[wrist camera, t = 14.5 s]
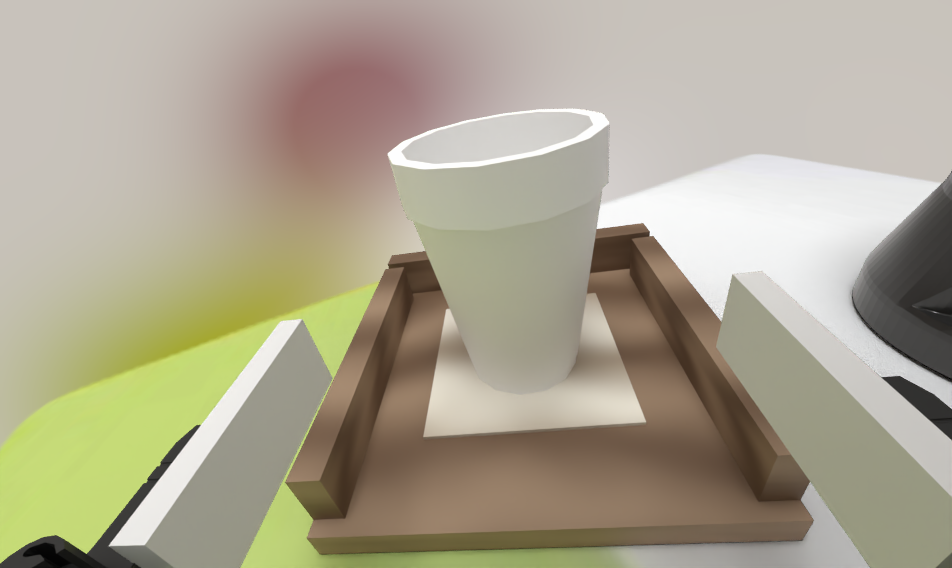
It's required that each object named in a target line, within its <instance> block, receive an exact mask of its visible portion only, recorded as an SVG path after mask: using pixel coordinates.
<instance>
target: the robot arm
mask: <svg viewBox="0 0 952 568" xmlns="http://www.w3.org/2000/svg"><path fill="white" fill-rule="evenodd" d="M853 301H854V304H855V306H856V308H857V310H858V312H859V313H860V315H861V316H862V318H863V319H864V320H865V321H866V322H867V323H868V324H869V325H870V327H871V328H872V329H874V330H875V331H876V332H877V333H878V334H879V335H880V336H882V337H883V338H884V339H885V340H887V341H888V342H889V343H891V344H892V345H893V346H895V347H896V348H898V349H899V350H901V351H902V352H904V353H905V354H907V355H908V356H910V357H912V358H913V359H915V360H917V361H918V362H920V363H922V364H924V365H926V366H928V367H929V368H931V369H933V370H935V371H937V372H939V373H941V374H943V375H945V376H947V377H949V378H951V379H952V171H951V173H950V175H949V176H948V177H947V179H946V180H945V181H944V182H943V183H942V184H941V185H940V186H939V187H938V188H937V189H936V190H935V191H934V192H933V193H932V194H931V195H930V196H929V197H928V198H927V199H925V200H924V201H923V202H922V203H921V204H920V205H919V206H918V207H917V208H916V209H915V210H914V211H913V212H912V213H911V214H910V215H909V216H908V217H907V218H906V219H905V220H904V221H903V222H902V223H901V224H900V225H899V226H898V227H897V228H896V229H895V230H894V231H892V232H891V233H890V234H889V235H888V236H887V237H886V238H885V239H884V240H883V241H882V242H881V243H880V244H879V245H878V246H877V247H876V248H875V249H874V250H873V251H872V252H871V253H870V255H869V256H868V258H867V259H866V260H865V263H864V265H863V267H862V269H861V272H860V274H859V276H858V278H857V281H856V283H855V285H854V288H853ZM716 348H717V349H718V351H719V352H720V353H721V355H722V356H723V358H724V359H725V361H726V362H727V363H728V365H729V366H730V368H731V369H732V371H733V372H734V373H735V375H736V376H737V378H738V379H739V381H740V382H741V383H742V385H743V386H744V388H745V389H746V391H747V392H748V393H749V395H750V396H751V398H752V399H753V401H754V402H755V403H756V405H757V406H758V408H759V409H760V411H761V412H762V413H763V415H764V416H765V418H766V419H767V421H768V422H769V423H770V425H771V426H772V428H773V429H774V431H775V432H776V433H777V435H778V436H779V438H780V439H781V441H782V442H783V443H784V445H785V446H786V448H787V449H788V451H789V452H790V453H791V455H792V456H793V458H794V459H795V461H796V462H797V463H798V465H799V466H800V468H801V469H802V471H803V472H804V473H805V475H806V476H807V478H808V479H809V481H810V482H811V484H812V485H813V486H814V488H815V489H816V491H817V492H818V494H819V495H820V496H821V498H822V499H823V501H824V502H825V504H826V505H827V506H828V508H829V509H830V511H831V512H832V514H833V515H834V516H835V518H836V519H837V521H838V522H839V524H840V525H841V526H842V528H843V529H844V531H845V532H846V534H847V535H848V536H849V538H850V539H851V541H852V542H853V544H854V545H855V546H856V548H857V549H858V551H859V552H860V554H861V555H862V556H863V558H864V559H865V561H866V562H867V564H868V565H869V566H870V568H952V409H951V408H950V407H948V406H947V405H946V404H945V403H944V402H942V401H941V400H940V399H939V398H937V397H936V396H935V395H934V394H932V393H930V392H928V391H926V390H925V389H923V388H921V387H919V386H917V385H915V384H913V383H912V382H910V381H908V380H906V379H904V378H902V377H900V376H894V377H880V376H879V375H878V374H877V373H876V372H875V371H873V370H872V369H871V368H870V367H869V366H868V365H867V364H866V363H864V362H863V361H862V360H861V359H860V358H859V357H858V356H857V355H855V354H854V353H853V352H852V351H851V350H850V349H849V348H848V347H847V346H845V345H844V344H843V343H842V342H841V341H840V340H839V339H838V338H836V337H835V336H834V335H833V334H832V333H831V332H830V331H829V330H827V329H826V328H825V327H824V326H823V325H822V324H821V323H820V322H818V321H817V320H816V319H815V318H814V317H813V316H812V315H811V314H810V313H808V312H807V311H806V310H805V309H804V308H803V307H802V306H801V305H799V304H798V303H797V302H796V301H795V300H794V299H793V298H792V297H790V296H789V295H788V294H787V293H786V292H785V291H784V290H783V289H781V288H780V287H779V286H778V285H777V284H776V283H775V282H774V281H772V280H771V279H770V278H769V277H768V276H767V275H766V274H765V273H764V272H762V271H758V272H748V273H739V274H733V275H732V279H731V283H730V288H729V292H728V297H727V301H726V305H725V310H724V314H723V318H722V323H721V327H720V332H719V336H718V340H717V345H716ZM331 381H332V376H331V374H330V372H329V370H328V368H327V366H326V365H325V363H324V361H323V359H322V357H321V355H320V353H319V351H318V349H317V347H316V345H315V343H314V341H313V339H312V337H311V335H310V333H309V331H308V329H307V327H306V325H305V323H304V321H303V320H302V319H298V320H289V321H281V322H280V323H279V324H278V326H277V327H276V328H275V329H274V331H273V332H272V333H271V335H270V336H269V337H268V339H267V340H266V341H265V342H264V344H263V345H262V346H261V348H260V349H259V350H258V352H257V353H256V354H255V356H254V357H253V358H252V359H251V361H250V362H249V363H248V365H247V366H246V367H245V369H244V370H243V371H242V372H241V374H240V375H239V376H238V378H237V379H236V380H235V382H234V383H233V384H232V386H231V387H230V388H229V389H228V391H227V392H226V393H225V395H224V396H223V397H222V399H221V400H220V401H219V402H218V404H217V405H216V406H215V408H214V409H213V410H212V412H211V413H210V414H209V415H208V417H207V418H206V419H205V421H204V422H203V423H202V425H196V426H195V427H194V428H193V429H192V430H190V431H189V432H188V433H187V434H186V435H185V436H183V437H182V438H181V439H180V440H179V441H178V442H176V444H175V445H174V446H173V447H172V449H171V450H170V451H169V452H168V454H167V455H166V456H165V457H164V459H163V460H162V461H161V462H160V463H161V465H160V466H158V467H156V469H155V470H154V471H153V472H152V474H151V475H150V476H149V477H148V479H147V480H148V481H147V483H144V484H143V485H142V486H141V488H140V489H139V490H138V491H137V493H136V494H135V495H134V496H133V498H132V499H131V500H130V501H129V503H128V504H127V505H126V506H125V508H124V509H123V510H122V511H121V513H120V514H119V515H118V516H117V518H116V519H115V520H114V521H113V523H112V524H111V525H110V526H109V528H108V529H107V530H106V532H105V533H104V534H103V535H102V537H101V538H100V539H99V540H98V542H97V543H96V544H95V545H94V547H93V548H92V549H91V550H90V551H89V552H88V553H87V554H85V553H84V552H82V551H81V550H79V549H78V548H76V547H75V546H73V545H72V544H70V543H69V542H67V541H66V540H64V539H62V538H60V537H59V536H57V535H54V536H48V537H43V538H40V539H38V540H36V541H34V542H32V543H29V544H27V545H25V546H24V547H22V548H21V549H19V550H18V551H16V552H15V553H13V554H12V555H10V556H9V557H8V558H6V559H5V560H4V561H3V562H2V563H1V564H0V568H240V567H241V565H242V563H243V561H244V559H245V557H246V555H247V553H248V551H249V549H250V547H251V545H252V543H253V541H254V538H255V536H256V534H257V532H258V530H259V528H260V526H261V524H262V522H263V520H264V518H265V516H266V514H267V512H268V510H269V508H270V506H271V504H272V502H273V500H274V497H275V495H276V493H277V491H278V489H279V487H280V485H281V483H282V481H283V479H284V477H285V475H286V473H287V471H288V469H289V467H290V465H291V463H292V461H293V458H294V456H295V454H296V452H297V450H298V448H299V446H300V444H301V442H302V440H303V438H304V436H305V434H306V432H307V430H308V428H309V426H310V424H311V422H312V420H313V417H314V415H315V413H316V411H317V409H318V407H319V405H320V403H321V401H322V399H323V397H324V395H325V393H326V391H327V389H328V387H329V385H330V383H331Z"/></svg>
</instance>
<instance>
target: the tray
mask: <svg viewBox="0 0 952 568" xmlns="http://www.w3.org/2000/svg"><path fill="white" fill-rule="evenodd" d="M649 234H650V231H649V230H648V229H647V228H646V226H645V225H644V224H643V223H641V224H633V225H626V226H618V227H610V228H602V229H596V235H595V242H594V248H593V255H592V262H591V268H590V275H589V281H588V288H587V295H586V301H585V308H584V314H583V321H582V328H581V334H580V341H579V348H578V354H577V356H576V363H575V364H574V366H573V368H572V369H571V371H570V373H569V374H568V376H567V378H566V379H564V380H563V381H561V382H559V383H558V384H556V385H554V386H553V387H551V388H549V389H548V390H546V391H540V392H534V393H528V394H523V395H519V394H513V393H508V392H503V391H498V390H495V389H494V388H492V387H491V386H489V385H488V384H487V383H485V382H484V381H482V380H481V379H479V377H478V374H477V372H476V370H475V368H474V366H473V363H472V361H471V359H470V356H469V354H468V351H467V349H466V347H465V344H464V342H463V340H462V337H461V335H460V332H459V330H458V328H457V325H456V323H455V320H454V318H453V316H452V313H451V311H450V308H449V306H448V304H447V301H446V299H445V296H444V294H443V292H442V289H441V287H440V284H439V282H438V280H437V277H436V275H435V272H434V270H433V268H432V265H431V263H430V260H429V258H428V256H427V253H426V251H423V252H417V253H408V254H400V255H392V257H391V259H390V261H389V263H388V266H389V269H386V270H385V272H384V274H383V276H382V278H381V280H380V282H379V284H378V287H377V289H376V291H375V293H374V295H373V297H372V299H371V301H370V304H369V306H368V308H367V310H366V312H365V314H364V316H363V318H362V321H361V323H360V325H359V327H358V329H357V331H356V333H355V335H354V337H353V340H352V342H351V344H350V346H349V348H348V350H347V352H346V354H345V357H344V359H343V361H342V363H341V365H340V367H339V369H338V371H337V374H336V376H335V378H334V380H333V382H332V384H331V386H330V388H329V390H328V393H327V395H326V397H325V399H324V401H323V403H322V405H321V407H320V410H319V412H318V414H317V416H316V418H315V420H314V422H313V424H312V427H311V429H310V431H309V433H308V435H307V437H306V439H305V441H304V444H303V446H302V448H301V450H300V452H299V454H298V456H297V458H296V460H295V463H294V465H293V467H292V469H291V471H290V473H289V475H288V477H287V480H286V482H285V483H286V484H287V486H288V487H289V488H290V489H291V491H292V492H293V493H294V495H295V496H296V497H297V499H298V500H299V501H300V503H301V504H302V505H303V506H304V508H305V509H306V510H307V512H308V513H309V514H310V516H311V517H312V518H313V523H312V526H311V528H310V531H309V534H308V536H307V539H308V540H309V542H310V543H311V544H312V545H313V546H314V548H315V549H316V550H317V551H318V552H319V554H344V553H378V552H412V551H447V550H481V549H515V548H550V547H584V546H618V545H653V544H687V543H721V542H755V541H790V540H803V538H804V536H805V535H806V533H807V531H808V530H809V528H810V526H811V525H812V523H813V521H814V520H813V518H812V517H811V515H810V514H809V512H808V511H807V509H806V508H805V506H804V505H803V503H802V502H801V498H802V496H803V494H804V492H805V490H806V488H807V486H808V485H809V483H810V481H809V479H808V478H807V476H806V475H805V473H804V472H803V471H802V469H801V468H800V466H799V465H798V463H797V462H796V461H795V459H794V458H793V456H792V455H791V453H790V452H789V451H788V449H787V448H786V446H785V445H784V443H783V442H782V441H781V439H780V438H779V436H778V435H777V433H776V432H775V431H774V429H773V428H772V426H771V425H770V423H769V422H768V421H767V419H766V418H765V416H764V415H763V413H762V412H761V411H760V409H759V408H758V406H757V405H756V403H755V402H754V401H753V399H752V398H751V396H750V395H749V393H748V392H747V391H746V389H745V388H744V386H743V385H742V383H741V382H740V381H739V379H738V378H737V376H736V375H735V373H734V372H733V371H732V369H731V368H730V366H729V365H728V363H727V362H726V361H725V359H724V358H723V356H722V355H721V353H720V352H719V351H718V349H717V348H716V345H717V340H718V336H719V332H720V327H721V323H722V322H721V321H720V320H719V318H718V317H717V316H716V315H715V313H714V312H713V311H712V310H711V308H710V307H709V306H708V305H707V303H706V302H705V301H704V299H703V298H702V297H701V296H700V294H699V293H698V292H697V291H696V289H695V288H694V287H693V286H692V284H691V283H690V282H689V281H688V279H687V278H686V277H685V276H684V274H683V273H682V272H681V270H680V269H679V268H678V267H677V265H676V264H675V263H674V262H673V260H672V259H671V258H670V257H669V255H668V254H667V253H666V252H665V250H664V249H663V248H662V247H661V245H660V244H659V243H658V242H657V240H656V239H655V238H654V236H650V237H649Z"/></svg>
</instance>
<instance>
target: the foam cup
mask: <svg viewBox="0 0 952 568" xmlns="http://www.w3.org/2000/svg"><path fill="white" fill-rule="evenodd" d="M609 126H610V124H609V122H608V120H607V119H606V117H605V116H604V114H603V113H598V112H593V111H587V110H582V109H541V110H531V111H522V112H513V113H504V114H499V115H493V116H488V117H484V118H478V119H472V120H467V121H463V122H459V123H456V124H452V125H449V126H445V127H441V128H438V129H434V130H430V131H428V132H425V133H423V134H421V135H418V136H416V137H413V138H411V139H408V140H406V141H403V142H402V143H400V144H399V145H398V146H397V147H395V148H394V149H393V150H392V151H390V152H389V153H388V158H389V161H390V165H391V168H392V172H393V175H394V179H395V182H396V186H397V189H398V193H399V197H400V200H401V204H402V206H403V209H404V211H405V213H406V216H407V218H408V219H409V220H411V221H413V222H414V225H415V227H416V229H417V232H418V234H419V237H420V239H421V241H422V244H423V246H424V248H425V251H426V253H427V256H428V258H429V260H430V263H431V265H432V268H433V270H434V272H435V275H436V277H437V280H438V282H439V284H440V287H441V289H442V292H443V294H444V296H445V299H446V301H447V304H448V306H449V308H450V311H451V313H452V316H453V318H454V320H455V323H456V325H457V328H458V330H459V332H460V335H461V337H462V340H463V342H464V344H465V347H466V349H467V351H468V354H469V356H470V359H471V361H472V363H473V366H474V368H475V370H476V372H477V374H478V377H479V379H481V380H482V381H484V382H485V383H487V384H488V385H489V386H491V387H492V388H494V389H495V390H498V391H503V392H508V393H513V394H519V395H523V394H528V393H534V392H540V391H546V390H548V389H549V388H551V387H553V386H554V385H556V384H558V383H559V382H561V381H563V380H564V379H566V378H567V376H568V374H569V373H570V371H571V369H572V368H573V366H574V364H575V363H576V356H577V354H578V348H579V341H580V334H581V328H582V321H583V314H584V308H585V301H586V295H587V288H588V281H589V275H590V268H591V262H592V255H593V248H594V242H595V235H596V228H597V222H598V215H599V209H600V202H601V195H602V189H603V187H604V186H606V184H608V175H609V174H608V173H609V171H608V170H609V128H610V127H609Z"/></svg>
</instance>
